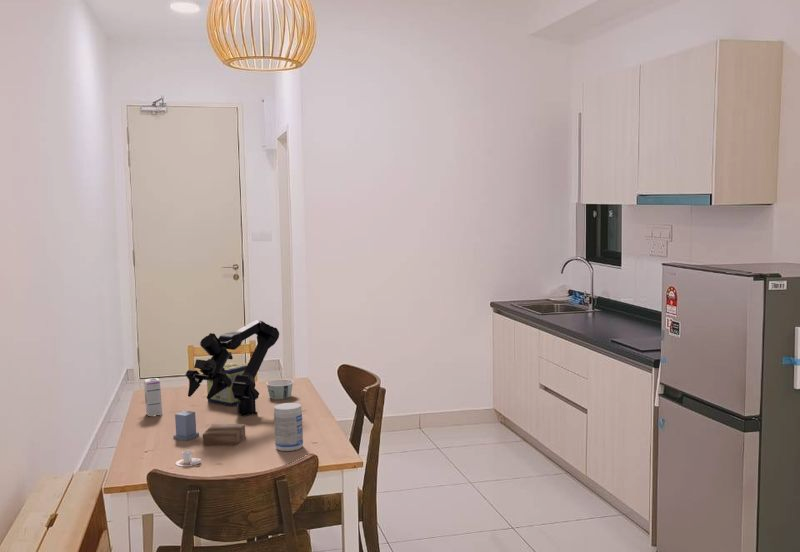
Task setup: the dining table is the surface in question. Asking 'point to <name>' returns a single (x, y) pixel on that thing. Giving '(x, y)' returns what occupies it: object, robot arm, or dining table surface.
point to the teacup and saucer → (188, 459)
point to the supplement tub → (288, 426)
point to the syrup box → (153, 396)
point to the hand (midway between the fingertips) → (198, 397)
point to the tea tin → (185, 426)
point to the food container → (280, 388)
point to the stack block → (224, 434)
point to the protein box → (226, 394)
